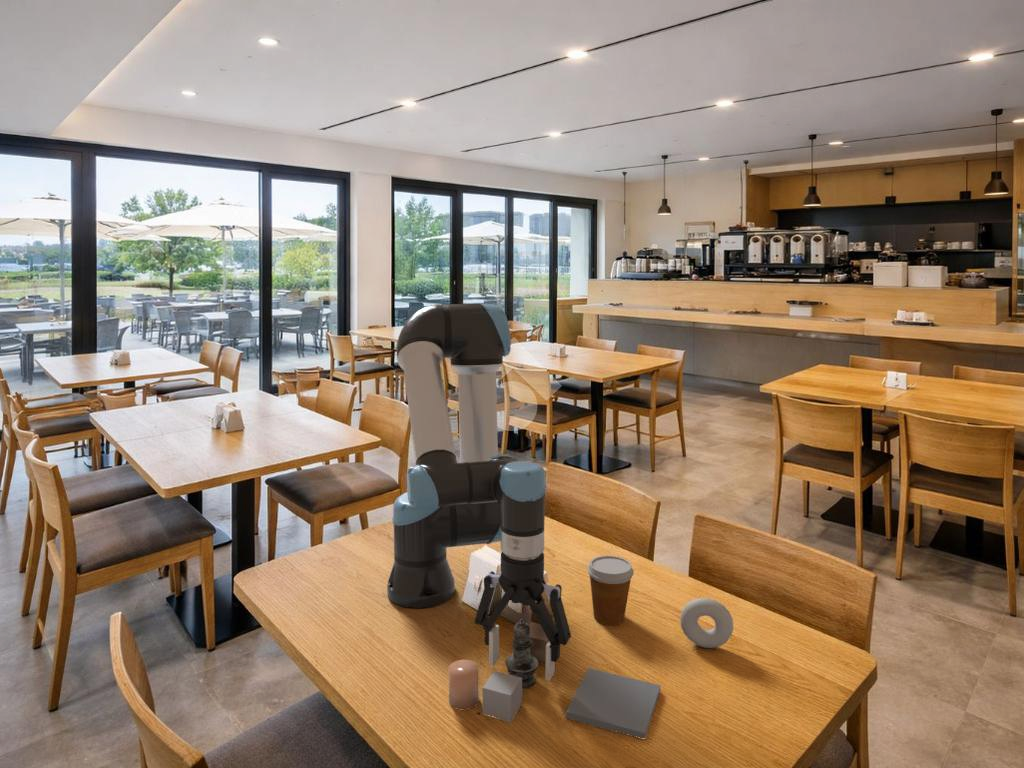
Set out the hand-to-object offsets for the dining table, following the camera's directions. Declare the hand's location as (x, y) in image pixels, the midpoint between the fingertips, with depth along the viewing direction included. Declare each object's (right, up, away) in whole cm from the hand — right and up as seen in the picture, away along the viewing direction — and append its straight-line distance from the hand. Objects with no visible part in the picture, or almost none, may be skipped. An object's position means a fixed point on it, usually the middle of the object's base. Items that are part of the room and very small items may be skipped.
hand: (521, 668), depth 118 cm
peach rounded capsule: (-10, -3, -5) cm, 12 cm away
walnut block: (+3, -1, +8) cm, 9 cm away
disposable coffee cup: (+19, +1, +22) cm, 29 cm away
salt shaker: (0, -2, 0) cm, 2 cm away
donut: (+36, -1, +11) cm, 38 cm away
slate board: (+16, -4, -6) cm, 17 cm away
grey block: (-3, -4, -7) cm, 9 cm away
